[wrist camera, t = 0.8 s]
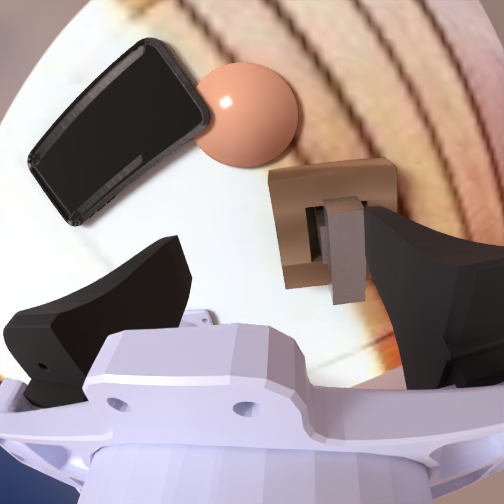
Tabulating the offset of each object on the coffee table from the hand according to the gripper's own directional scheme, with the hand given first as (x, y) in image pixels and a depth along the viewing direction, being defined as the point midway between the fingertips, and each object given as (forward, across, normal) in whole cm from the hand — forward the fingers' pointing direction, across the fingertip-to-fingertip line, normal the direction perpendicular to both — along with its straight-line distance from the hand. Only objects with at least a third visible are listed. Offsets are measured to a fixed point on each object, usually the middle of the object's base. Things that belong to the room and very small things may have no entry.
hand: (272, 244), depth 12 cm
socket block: (+10, -4, +4) cm, 12 cm away
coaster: (+10, +1, -4) cm, 11 cm away
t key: (+10, -4, +4) cm, 12 cm away
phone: (+11, +11, -5) cm, 16 cm away
